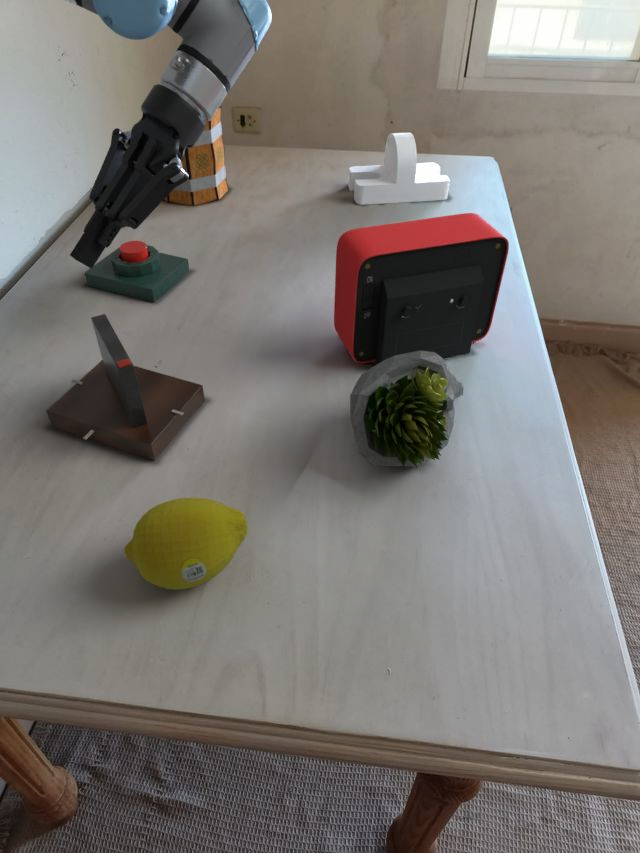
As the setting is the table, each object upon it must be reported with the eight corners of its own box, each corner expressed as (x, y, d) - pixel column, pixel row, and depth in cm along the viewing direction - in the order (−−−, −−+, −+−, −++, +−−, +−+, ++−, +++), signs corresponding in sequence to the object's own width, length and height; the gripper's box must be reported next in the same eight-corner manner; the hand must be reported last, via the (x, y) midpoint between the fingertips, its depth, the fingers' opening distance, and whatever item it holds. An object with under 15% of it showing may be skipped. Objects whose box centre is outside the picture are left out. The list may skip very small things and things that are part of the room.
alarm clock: (495, 351, 85) (522, 242, 74) (356, 378, 80) (364, 266, 69) (461, 313, 91) (482, 208, 81) (332, 337, 87) (335, 229, 76)
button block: (87, 285, 96) (80, 261, 93) (125, 256, 102) (121, 233, 100) (154, 302, 92) (149, 278, 90) (189, 271, 99) (186, 248, 96)
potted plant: (466, 384, 74) (516, 445, 61) (384, 452, 77) (414, 524, 64) (403, 312, 69) (442, 362, 56) (318, 388, 72) (335, 452, 59)
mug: (229, 203, 118) (222, 118, 108) (156, 207, 116) (141, 121, 106) (226, 164, 132) (220, 86, 122) (161, 167, 131) (149, 88, 120)
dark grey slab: (106, 373, 76) (90, 315, 70) (119, 369, 77) (104, 311, 71) (133, 427, 69) (118, 368, 63) (147, 423, 70) (133, 363, 64)
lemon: (129, 610, 55) (109, 557, 50) (138, 539, 61) (121, 484, 56) (251, 600, 56) (246, 546, 51) (249, 530, 62) (244, 475, 57)
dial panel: (35, 437, 71) (27, 419, 70) (115, 362, 82) (110, 345, 80) (148, 475, 67) (144, 458, 65) (218, 392, 78) (215, 375, 76)
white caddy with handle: (448, 199, 121) (457, 141, 113) (357, 205, 118) (360, 145, 111) (434, 180, 127) (441, 124, 120) (347, 184, 125) (349, 127, 118)
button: (116, 260, 94) (113, 249, 93) (131, 249, 97) (129, 238, 96) (138, 265, 93) (136, 255, 92) (153, 254, 96) (151, 243, 95)
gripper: (131, 65, 77) (29, 226, 79) (200, 101, 72) (89, 273, 74) (167, 104, 84) (72, 252, 86) (233, 139, 79) (131, 296, 81)
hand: (80, 261), depth 80 cm, fingers closed
